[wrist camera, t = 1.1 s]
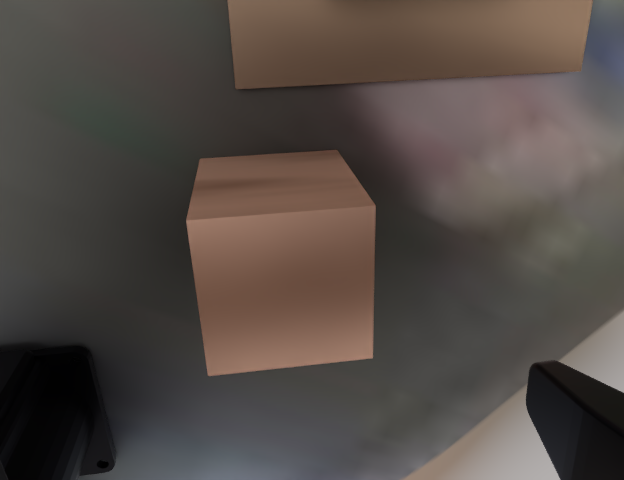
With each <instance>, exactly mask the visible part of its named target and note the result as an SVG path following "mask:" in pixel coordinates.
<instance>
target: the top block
mask: <svg viewBox="0 0 624 480" xmlns="http://www.w3.org/2000/svg"><path fill="white" fill-rule="evenodd" d="M375 217H376V205H375V204H374V202H373V201H372V200H371V198H370V197H369V195H368V194H367V192H366V191H365V189H364V188H363V187H362V185H361V184H360V182H359V181H358V179H357V178H356V176H355V175H354V174H353V172H352V171H351V169H350V168H349V166H348V165H347V163H346V162H345V161H344V159H343V158H342V156H341V155H340V153H339V152H338V150H324V151H308V152H293V153H278V154H263V155H248V156H233V157H218V158H202V159H200V161H199V165H198V169H197V174H196V178H195V183H194V187H193V192H192V196H191V201H190V205H189V210H188V214H187V219H186V223H187V231H188V238H189V245H190V252H191V259H192V266H193V273H194V280H195V287H196V294H197V301H198V309H199V316H200V323H201V330H202V337H203V344H204V351H205V358H206V365H207V372H208V376H215V375H224V374H233V373H242V372H251V371H260V370H270V369H279V368H288V367H297V366H306V365H315V364H324V363H333V362H342V361H352V360H361V359H370V358H373V321H374V269H375Z"/></svg>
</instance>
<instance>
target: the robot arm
mask: <svg viewBox="0 0 624 480" xmlns="http://www.w3.org/2000/svg"><path fill="white" fill-rule="evenodd" d="M73 357H77V358H80V359H81V360H82V361H80V362H78V361H75V360H73ZM526 406H527V410H528V413H529V415H530V418H531V420H532V422H533V424H534V426H535V428H536V430H537V432H538V434H539V436H540V438H541V440H542V442H543V444H544V447H545V449H546V451H547V453H548V454H549V457H550V459H551V461H552V463H553V465H554V467H555V469H556V471H557V473H558V475H559V478H560V479H561V480H624V393H623V392H621V391H618V390H616V389H614V388H612V387H610V386H608V385H606V384H604V383H602V382H600V381H598V380H596V379H594V378H591V377H589V376H587V375H585V374H583V373H581V372H579V371H577V370H575V369H573V368H571V367H569V366H567V365H564V364H562V363H560V362H558V361H555V360H551V361H544V362H537V363H534V364H532V365H531V367H530V370H529V377H528V386H527V394H526ZM101 460H106V461H101ZM115 461H116V453H115V449H114V445H113V441H112V437H111V433H110V429H109V425H108V421H107V417H106V413H105V409H104V405H103V401H102V397H101V393H100V389H99V385H98V381H97V377H96V373H95V369H94V365H93V361H92V357H91V354H90V352H89V351H88V350H87V349H86V348H83V347H81V346H73V347H63V348H53V349H43V350H33V351H28V350H16V351H6V352H0V480H78V477H79V476H81V475H89V474H97V473H105V472H109V471H110V470H112V469H113V467H114V465H115Z"/></svg>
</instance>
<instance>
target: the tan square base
mask: <svg viewBox="0 0 624 480" xmlns="http://www.w3.org/2000/svg"><path fill="white" fill-rule="evenodd" d="M592 3H593V0H228V11H229V22H230V33H231V44H232V55H233V67H234V78H235V89H251V88H270V87H289V86H309V85H328V84H347V83H366V82H385V81H404V80H423V79H442V78H461V77H480V76H499V75H518V74H537V73H556V72H575V71H581V68H582V62H583V56H584V50H585V44H586V38H587V33H588V27H589V21H590V15H591V9H592Z"/></svg>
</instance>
